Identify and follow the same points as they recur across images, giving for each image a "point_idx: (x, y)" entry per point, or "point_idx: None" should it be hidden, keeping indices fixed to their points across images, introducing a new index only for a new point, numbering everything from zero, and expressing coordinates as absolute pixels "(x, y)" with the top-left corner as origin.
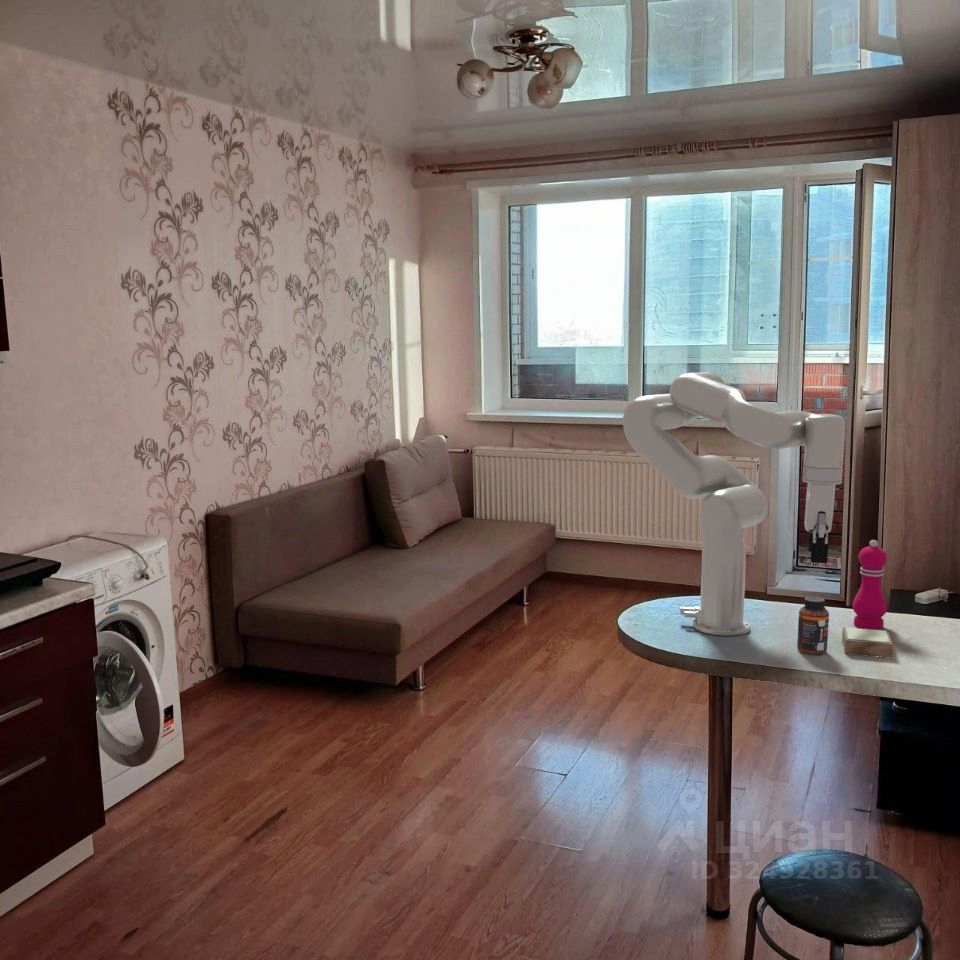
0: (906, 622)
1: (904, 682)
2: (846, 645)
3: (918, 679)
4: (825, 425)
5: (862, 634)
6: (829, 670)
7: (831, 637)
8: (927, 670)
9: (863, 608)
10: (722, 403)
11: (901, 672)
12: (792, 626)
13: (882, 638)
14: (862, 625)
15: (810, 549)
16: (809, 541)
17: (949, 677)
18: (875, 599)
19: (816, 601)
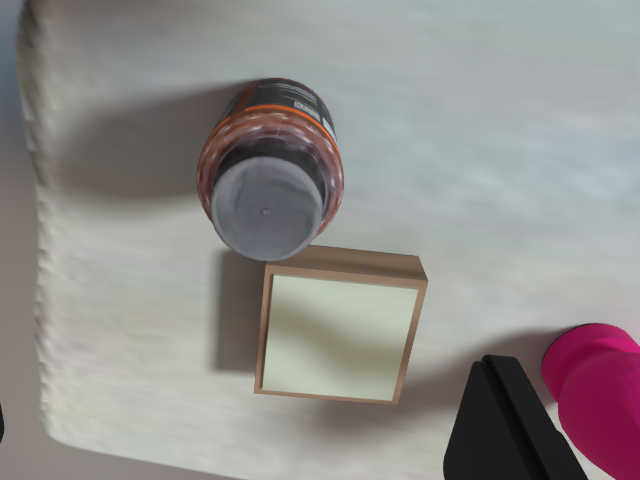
0: None
1: (41, 351)
2: None
3: (83, 387)
4: None
5: (335, 328)
6: (72, 159)
7: (457, 229)
8: (171, 421)
9: (584, 388)
10: None
11: (131, 360)
12: (600, 105)
13: (300, 377)
14: (561, 346)
15: (476, 380)
16: (530, 440)
17: (129, 454)
18: (595, 449)
19: (212, 213)
